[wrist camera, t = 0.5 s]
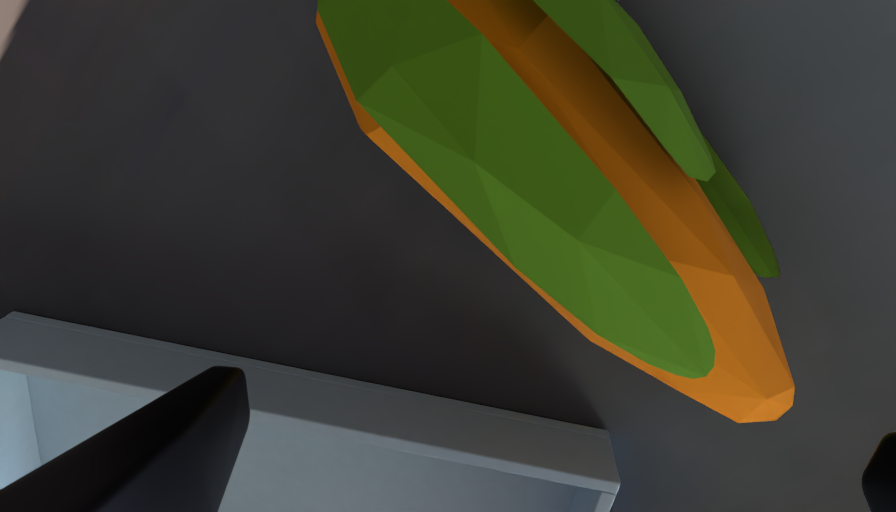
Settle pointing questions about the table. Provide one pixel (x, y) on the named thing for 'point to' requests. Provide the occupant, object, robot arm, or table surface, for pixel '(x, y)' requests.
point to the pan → (300, 430)
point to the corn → (576, 178)
